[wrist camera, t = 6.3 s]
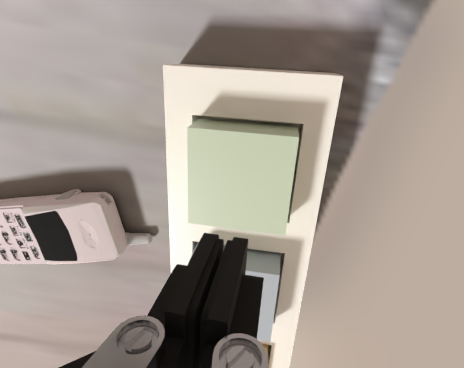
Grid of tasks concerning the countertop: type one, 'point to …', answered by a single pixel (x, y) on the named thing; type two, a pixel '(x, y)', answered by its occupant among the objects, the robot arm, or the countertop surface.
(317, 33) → the countertop surface
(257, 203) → the key sage
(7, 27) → the countertop surface
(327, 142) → the keypad
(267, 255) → the key slate
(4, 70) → the countertop surface
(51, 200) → the mobile phone
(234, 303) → the robot arm
